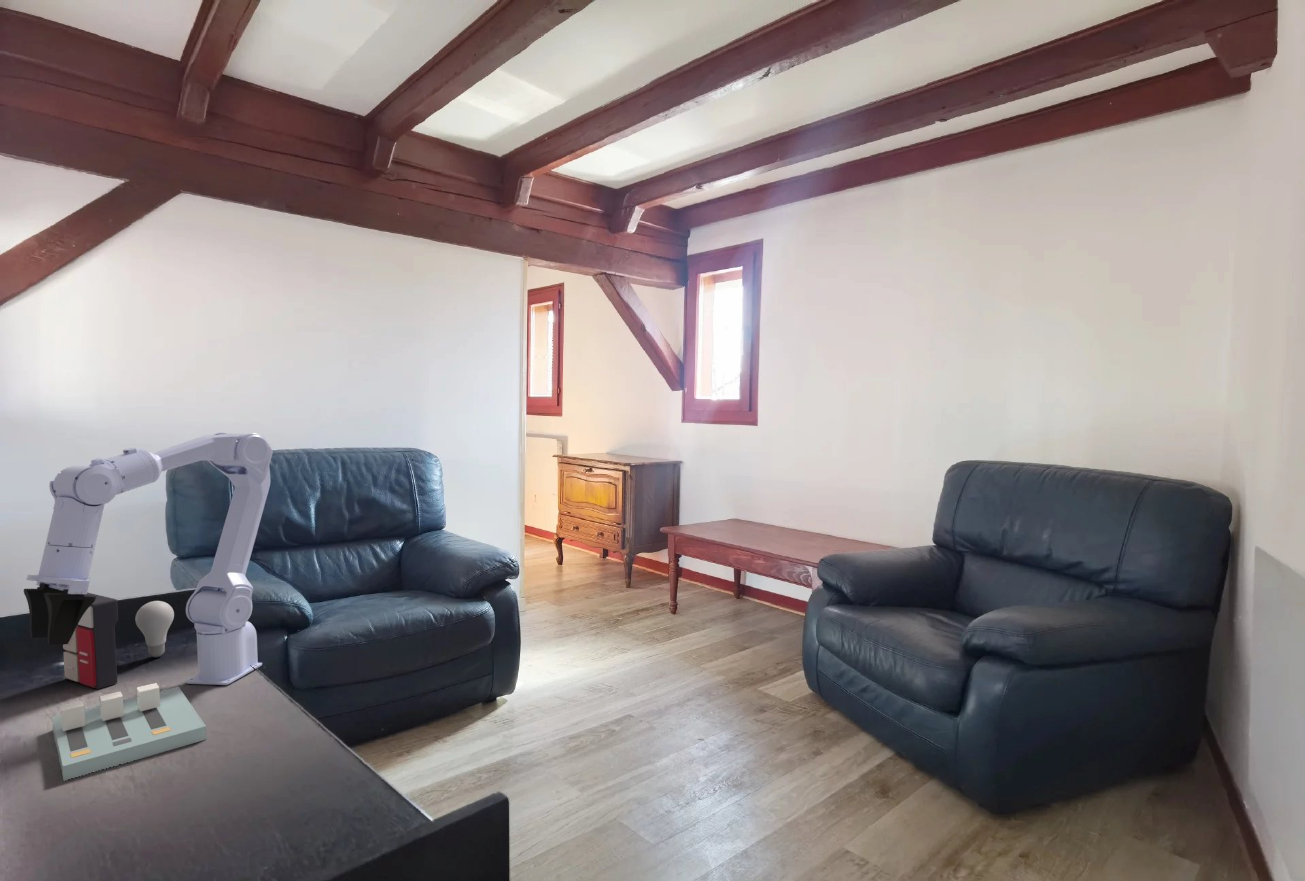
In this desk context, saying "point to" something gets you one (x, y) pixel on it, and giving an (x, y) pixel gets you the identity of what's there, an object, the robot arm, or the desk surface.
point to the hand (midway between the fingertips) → (48, 640)
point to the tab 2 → (111, 706)
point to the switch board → (127, 734)
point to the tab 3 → (148, 697)
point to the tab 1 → (72, 715)
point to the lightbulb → (155, 625)
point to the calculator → (94, 645)
